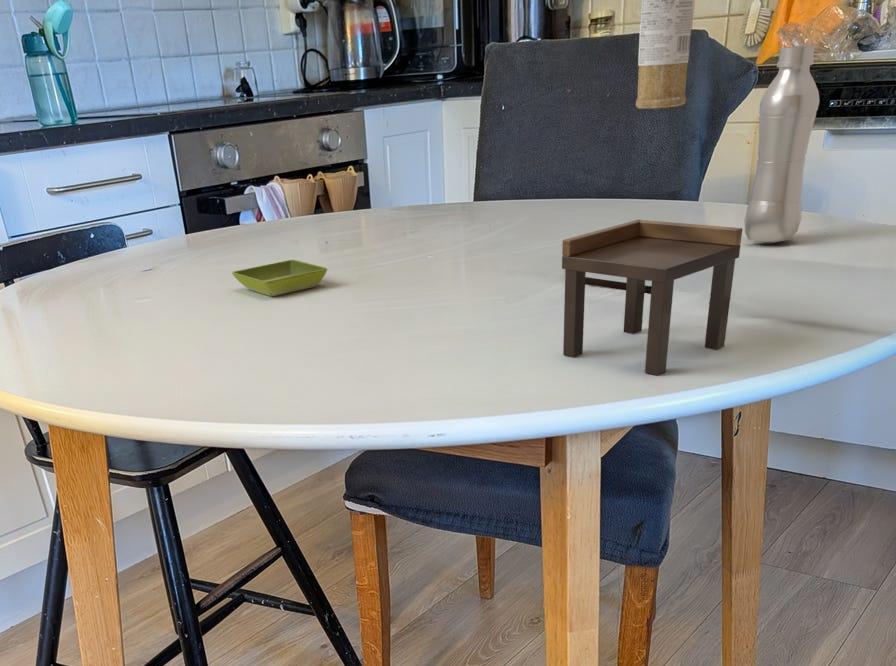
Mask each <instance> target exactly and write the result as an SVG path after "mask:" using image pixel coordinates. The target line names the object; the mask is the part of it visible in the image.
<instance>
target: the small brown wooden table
mask: <svg viewBox="0 0 896 666" xmlns="http://www.w3.org/2000/svg"><path fill="white" fill-rule="evenodd" d="M742 236H743V228H742V227H734V226H733V227H732V226H720V225H710V224H696V223H685V222H673V221H659V220H649V219H648V220H647V219H635V220H632V221H628V222H624V223H620V224H617V225H616V224H615V225H613V226H610V227H605V228H602V229H598V230H595V231H591V232H587V233H584V234H580V235H576V236H573V237H569V238H565V239H562V245H561V246H562V252H561V253H562V254H561V255H562V256H561V269H562V270H564V305H563V308H564V309H563V345H562V346H563V348H562V349H563V350H562V355H563V356H565V357H570V358H576V357H578V356H581V355H583V353H584V351H583V350H584V328H585V327H584V325H585V323H584V322H585V301H586V300H585V297H586V296H585V295H586V285H585V277H586V275H587V274H586V273H591V274H597V275H605V276H612V277H620V278H626V282H625V283H626V290H625V299H624V300H625V302H624V318H623V333H625V332H626V333H625V334H630V333H631V334H630V335H635V333H636V334H638V333H640V332H642V330H643V316H644V304H645V293H644V292H645V285H646V281H649V282H651V285H650V286H651V294H650V298H649V299H650V300H649V301H650V302H649V311H648V312H649V314H648V325H647V326H648V327H647V339H646V340H647V341H646V351H645V352H646V354H645V366H644V373H645V374H649V375H654V376H660V375H661V374H663V373H666V372H667V363H668V362H667V361H668V351H669V340H670V339H669V338H670V328H671V319H672V306H673V298H674V296H673V295H674V285H675V280H679V279H681V278H684V277H687V276H690V275H693V274H695V273H699V272H701V271H704V270H708V269H710V268H713V269H712V279H711V285H710V286H711V287H710V294H709V303H708V314H707V320H706V321H707V322H706V329H705V338H704V348H705V349H711V350H719V349H721V348H724V347H725V344H726V336H727V335H726V334H727V328H728V319H729V312H730V304H731V297H732V289H733V288H732V287H733V280H734V273H735V266H736V265H735V264H736V259H739V258H740V255H741V254H740V252H741V244H742V238H743V237H742Z"/></svg>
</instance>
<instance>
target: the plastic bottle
mask: <svg viewBox="0 0 896 666" xmlns="http://www.w3.org/2000/svg"><path fill="white" fill-rule="evenodd" d="M778 52H779V54H778V60H777V62H776V68H778V72H777V74H776V76H775V77H773V80H772V81H771V83H770V84H769V85H768V87H766V90H765V91H764V93H763V94H762V97H761V100H760V103H759V109H758V111H759V112H758V113H759V116H758V150H757V158H758V159H757V162H756V170H755V176H754V181H753V185H752V191H751V194H750V200H749V202H748V204H747V207H746V212H745V216H744V234H745V235H746V239H748V240H749V241H754V242H757V243H761V244H766V245H770V244H775V243H781V242H784V241H785V242H786V241H788V240H792V239H793V238H794V237H795V235H796V234H797V232H798V231H799V228H800V225H801V221H802V211H803V210H802V209H803V207H802V206H803V204H802V199H801V197H802V190H803V177H804V167H805V162H806V155H807V153H808V148H809V142H810V138H811V134H812V131H813V127H814V123H815V120H816V116H817V111H818V110H819V106H820V94H819V93H820V92H819V90H818V87H817V84H816V82H815V80H814V78H813V76H812V74H811V72H810V67H811V66H812V65H814V53H815V44H808V45H807V44H806V45H794V46H783V47H780V49H779V51H778Z"/></svg>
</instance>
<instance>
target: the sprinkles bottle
mask: <svg viewBox="0 0 896 666" xmlns="http://www.w3.org/2000/svg"><path fill="white" fill-rule="evenodd" d="M693 6H694V0H641V13H640V24H639V38H638V39H639V40H638V41H639V42H638V58H637V59H638V61H637V66H638V78H637V79H638V80H637V98H636V101H635V107H636V108H637V109H639V110H650V109H651V110H654V109H655V110H657V109H667V108H677V107H681V106H683V105H685V103H686V102H687V96H686V88H687V87H686V86H687V74H688V73H687V72H688V71H687V70H688V64H689V59H690V45H691V35H692V34H691V33H692V22H693V21H692V20H693V8H694V7H693Z"/></svg>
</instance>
